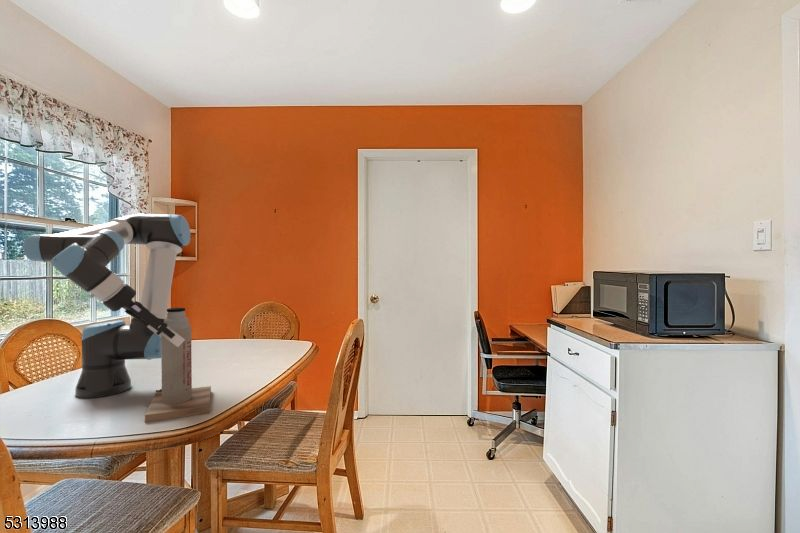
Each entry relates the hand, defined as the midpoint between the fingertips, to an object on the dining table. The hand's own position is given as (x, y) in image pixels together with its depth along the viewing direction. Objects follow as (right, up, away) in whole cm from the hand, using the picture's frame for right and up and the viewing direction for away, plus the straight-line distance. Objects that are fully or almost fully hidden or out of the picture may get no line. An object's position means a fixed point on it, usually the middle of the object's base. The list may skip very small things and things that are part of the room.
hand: (174, 339), depth 118 cm
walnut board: (+1, -20, +2) cm, 21 cm away
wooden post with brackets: (-10, -21, +14) cm, 27 cm away
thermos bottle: (0, -19, +1) cm, 19 cm away
